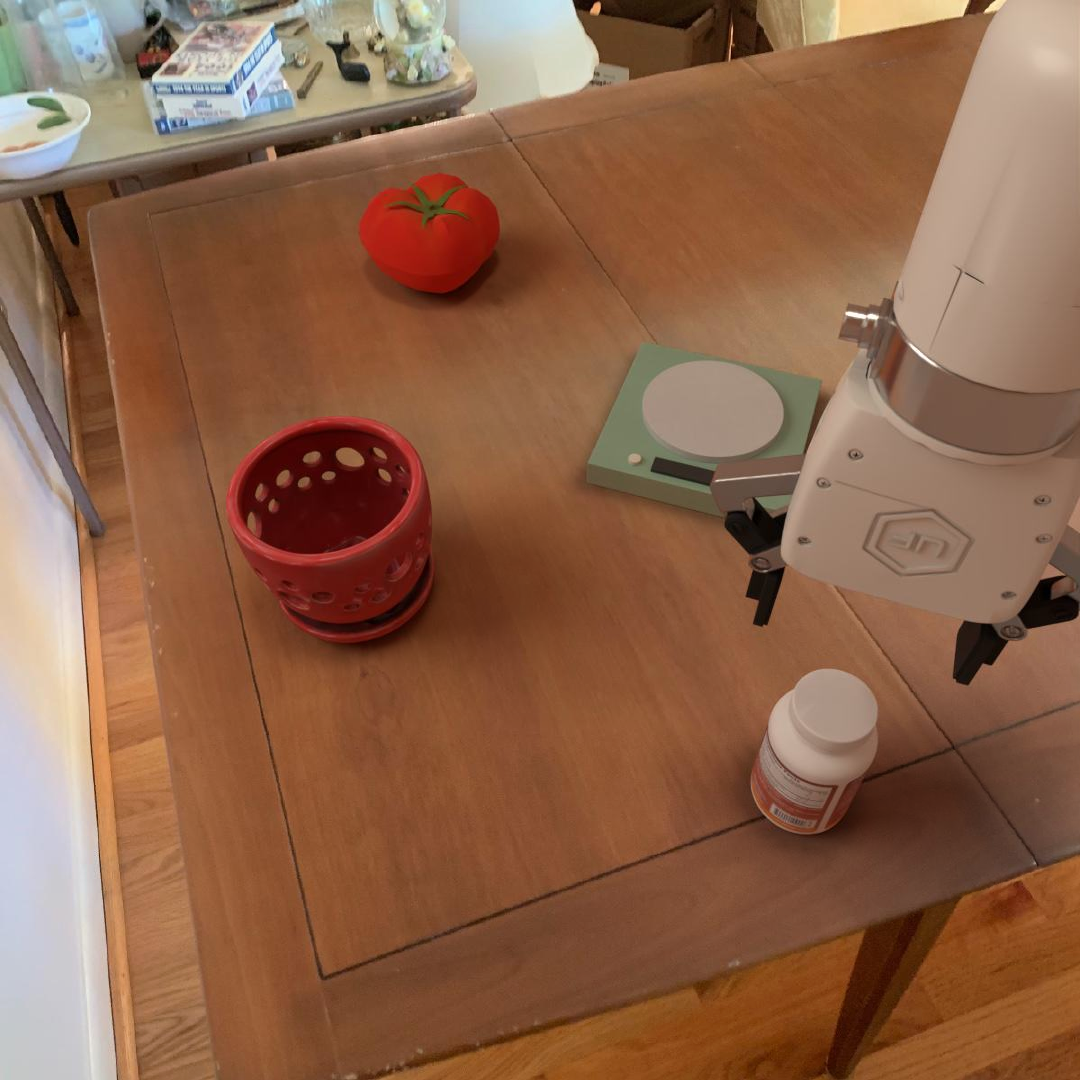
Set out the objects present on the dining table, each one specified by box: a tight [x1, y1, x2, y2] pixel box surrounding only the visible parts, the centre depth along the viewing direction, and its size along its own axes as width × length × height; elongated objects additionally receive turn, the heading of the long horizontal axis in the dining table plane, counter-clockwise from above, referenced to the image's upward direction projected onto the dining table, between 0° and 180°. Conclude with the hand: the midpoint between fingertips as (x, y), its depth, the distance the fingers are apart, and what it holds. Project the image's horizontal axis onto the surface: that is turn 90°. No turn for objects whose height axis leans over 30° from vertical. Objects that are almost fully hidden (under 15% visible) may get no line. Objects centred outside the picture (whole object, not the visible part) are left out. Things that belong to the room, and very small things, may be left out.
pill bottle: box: [750, 668, 879, 835], centre depth 58 cm, size 6×6×11 cm
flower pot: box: [225, 415, 436, 644], centre depth 68 cm, size 13×13×12 cm
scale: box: [586, 341, 823, 519], centre depth 81 cm, size 16×16×3 cm
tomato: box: [358, 172, 501, 294], centre depth 94 cm, size 14×13×9 cm
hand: (861, 631), depth 48 cm, fingers open, 9 cm apart
